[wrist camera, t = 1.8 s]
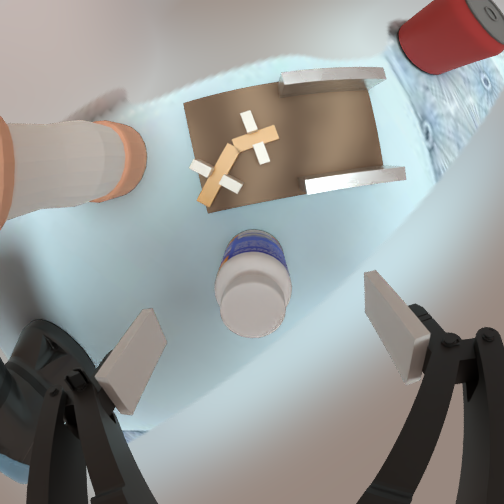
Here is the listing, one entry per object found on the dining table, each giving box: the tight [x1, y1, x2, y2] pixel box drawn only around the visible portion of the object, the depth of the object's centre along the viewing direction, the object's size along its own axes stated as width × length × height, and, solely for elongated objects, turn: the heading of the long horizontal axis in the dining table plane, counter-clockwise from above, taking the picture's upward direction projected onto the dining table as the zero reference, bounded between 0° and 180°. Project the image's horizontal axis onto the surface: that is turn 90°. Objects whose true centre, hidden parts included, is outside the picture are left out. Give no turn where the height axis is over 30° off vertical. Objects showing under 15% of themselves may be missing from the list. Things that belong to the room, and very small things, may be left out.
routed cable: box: [189, 110, 279, 207], centre depth 20 cm, size 8×7×2 cm
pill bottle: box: [214, 230, 292, 338], centre depth 21 cm, size 5×5×10 cm
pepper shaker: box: [0, 116, 147, 230], centre depth 13 cm, size 7×7×19 cm
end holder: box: [278, 67, 406, 194], centre depth 18 cm, size 8×9×4 cm
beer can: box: [399, 0, 504, 75], centre depth 12 cm, size 7×7×12 cm
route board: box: [183, 82, 383, 213], centre depth 21 cm, size 16×10×1 cm, turn 102°
